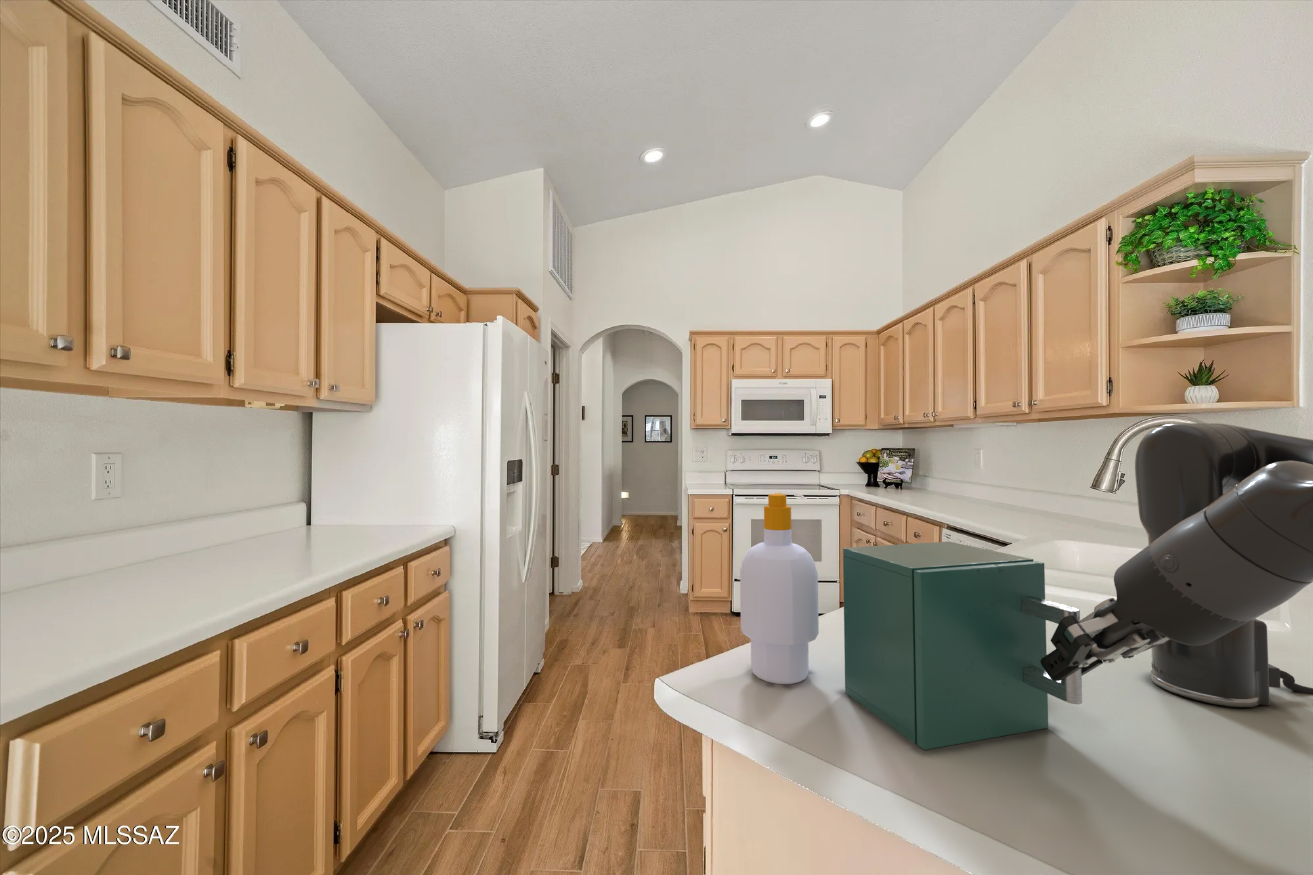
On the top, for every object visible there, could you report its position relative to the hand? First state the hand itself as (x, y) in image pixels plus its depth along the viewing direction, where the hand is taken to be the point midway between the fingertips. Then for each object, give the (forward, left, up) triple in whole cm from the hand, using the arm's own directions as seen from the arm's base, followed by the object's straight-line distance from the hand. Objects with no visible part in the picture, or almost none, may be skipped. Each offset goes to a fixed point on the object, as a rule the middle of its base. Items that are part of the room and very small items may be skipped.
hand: (1058, 669), depth 54 cm
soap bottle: (+28, -11, -8) cm, 31 cm away
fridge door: (+5, +2, -8) cm, 10 cm away
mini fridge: (+10, -6, -8) cm, 14 cm away
